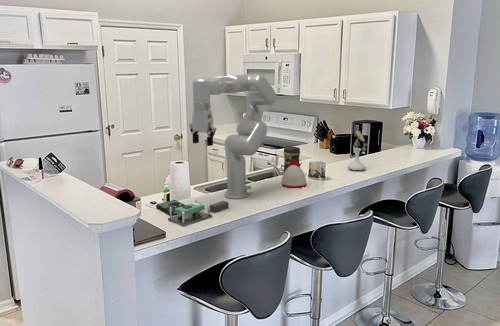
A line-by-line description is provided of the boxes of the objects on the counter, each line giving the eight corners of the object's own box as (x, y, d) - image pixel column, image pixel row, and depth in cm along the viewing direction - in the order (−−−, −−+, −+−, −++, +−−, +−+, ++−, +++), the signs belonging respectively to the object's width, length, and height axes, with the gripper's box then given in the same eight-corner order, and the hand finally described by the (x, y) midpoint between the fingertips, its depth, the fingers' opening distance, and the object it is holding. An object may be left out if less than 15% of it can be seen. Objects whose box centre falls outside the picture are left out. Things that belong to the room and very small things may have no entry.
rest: (223, 206, 208) (223, 200, 208) (228, 208, 206) (228, 202, 205) (209, 211, 202) (209, 205, 201) (214, 213, 200) (214, 206, 199)
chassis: (195, 211, 201) (195, 199, 200) (212, 217, 194) (212, 204, 193) (167, 220, 190) (167, 207, 188) (184, 226, 183) (183, 212, 181)
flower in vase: (366, 172, 276) (368, 132, 271) (347, 171, 278) (349, 132, 273) (364, 167, 289) (366, 129, 283) (346, 167, 290) (348, 129, 285)
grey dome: (303, 189, 237) (303, 162, 234) (278, 187, 242) (278, 161, 238) (308, 183, 250) (309, 157, 247) (285, 181, 255) (285, 156, 251)
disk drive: (190, 213, 202) (175, 204, 213) (190, 207, 201) (174, 199, 212) (170, 217, 195) (155, 209, 207) (170, 211, 195) (155, 203, 206)
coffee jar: (301, 176, 265) (302, 146, 261) (293, 179, 259) (293, 148, 255) (289, 174, 271) (290, 144, 267) (281, 176, 266) (281, 146, 262)
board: (196, 206, 198) (195, 201, 197) (205, 209, 194) (204, 203, 193) (174, 213, 189) (174, 207, 188) (183, 216, 185) (183, 210, 184)
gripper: (221, 107, 195) (221, 145, 198) (195, 105, 206) (196, 141, 210) (208, 108, 189) (209, 147, 193) (183, 106, 200) (184, 143, 204)
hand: (202, 144), depth 201 cm, fingers open, 9 cm apart
